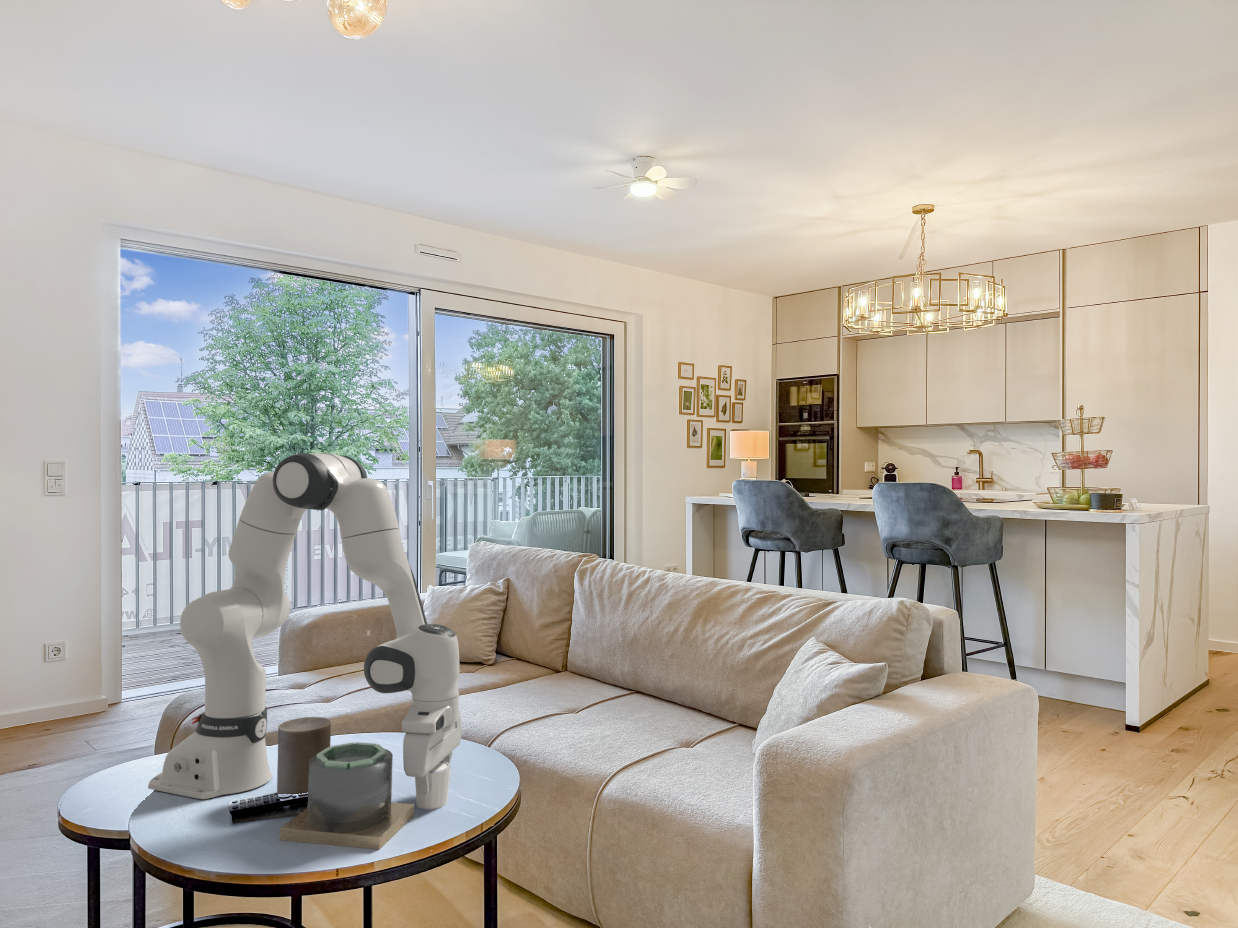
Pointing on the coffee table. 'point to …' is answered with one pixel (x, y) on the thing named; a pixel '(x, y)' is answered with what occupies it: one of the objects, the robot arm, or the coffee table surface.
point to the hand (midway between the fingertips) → (434, 784)
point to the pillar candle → (299, 751)
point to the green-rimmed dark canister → (349, 799)
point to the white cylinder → (435, 787)
